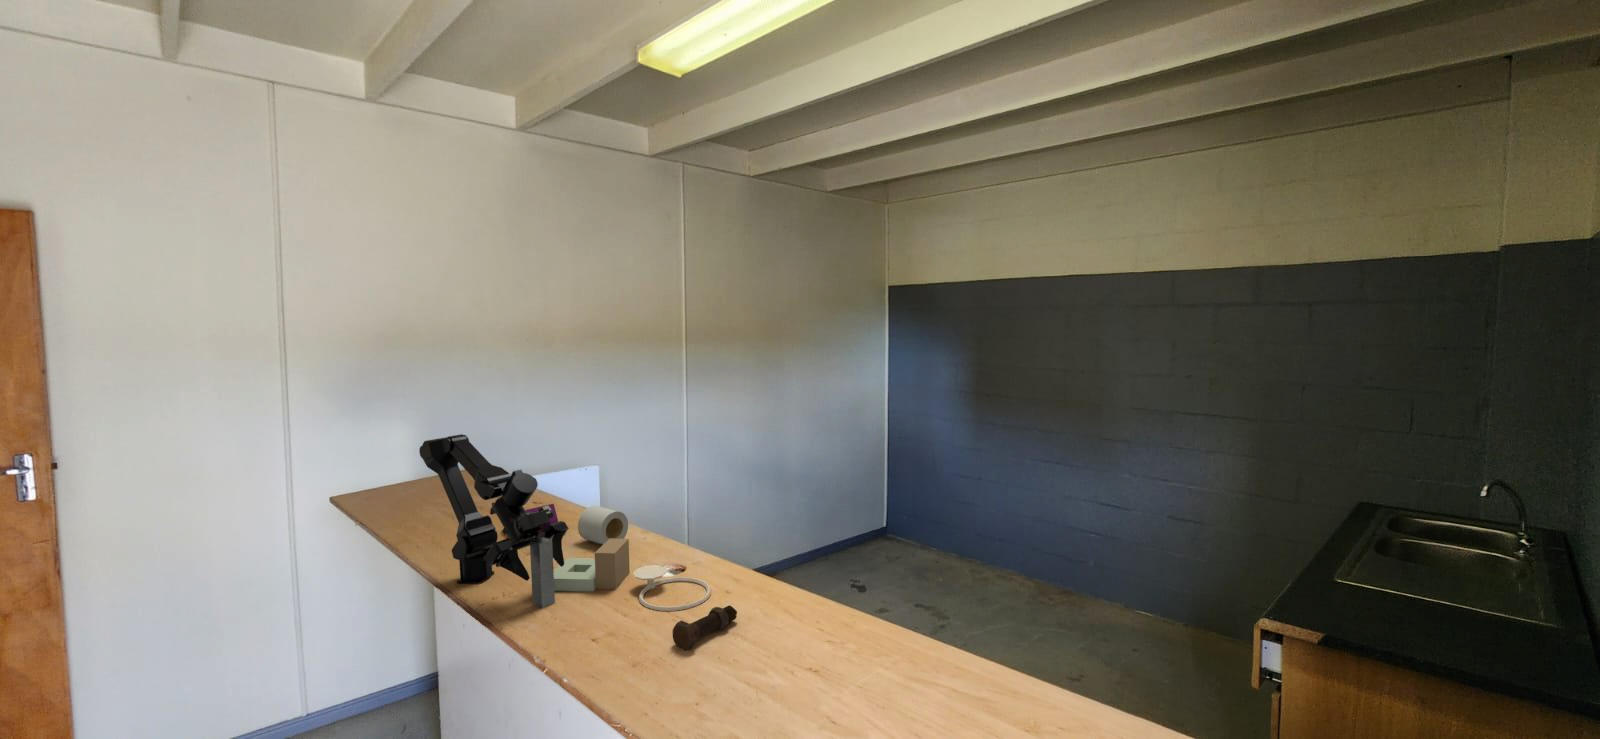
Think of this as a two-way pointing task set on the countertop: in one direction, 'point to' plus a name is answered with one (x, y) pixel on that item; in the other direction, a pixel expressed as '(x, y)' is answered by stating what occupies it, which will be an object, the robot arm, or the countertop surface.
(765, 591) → the countertop surface
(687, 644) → the bolt
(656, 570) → the hand towel holder
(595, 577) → the square holed base
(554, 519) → the mounting bracket
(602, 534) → the toilet paper
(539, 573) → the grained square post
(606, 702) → the countertop surface
